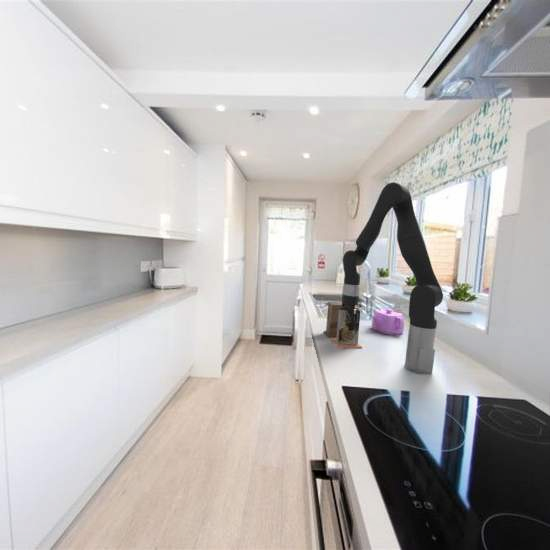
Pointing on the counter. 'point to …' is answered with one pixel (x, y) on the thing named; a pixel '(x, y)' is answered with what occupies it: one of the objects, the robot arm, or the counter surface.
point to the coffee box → (347, 328)
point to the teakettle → (388, 322)
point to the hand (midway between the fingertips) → (347, 328)
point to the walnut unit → (332, 319)
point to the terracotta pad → (345, 344)
